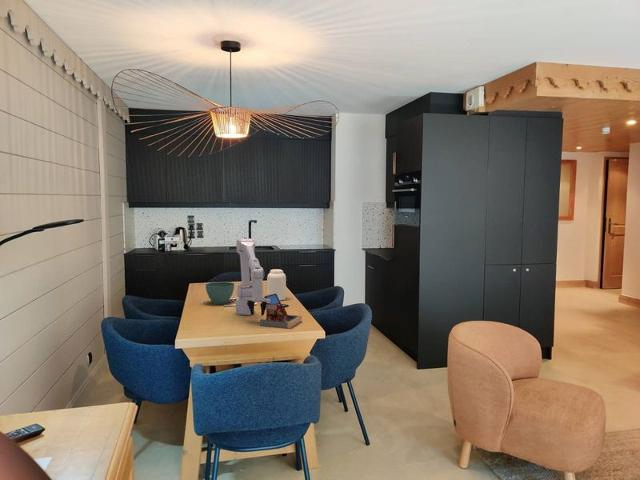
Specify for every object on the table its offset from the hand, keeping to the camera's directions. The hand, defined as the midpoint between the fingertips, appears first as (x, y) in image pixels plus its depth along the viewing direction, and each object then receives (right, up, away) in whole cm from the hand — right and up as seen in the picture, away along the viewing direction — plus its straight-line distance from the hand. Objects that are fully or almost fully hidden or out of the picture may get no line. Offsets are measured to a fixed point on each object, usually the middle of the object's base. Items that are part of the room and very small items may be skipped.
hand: (257, 314), depth 263 cm
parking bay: (+13, -4, -4) cm, 14 cm away
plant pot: (-30, 0, +47) cm, 56 cm away
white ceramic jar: (+5, +1, +60) cm, 60 cm away
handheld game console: (+7, -1, +36) cm, 37 cm away
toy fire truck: (+11, -4, -4) cm, 12 cm away
